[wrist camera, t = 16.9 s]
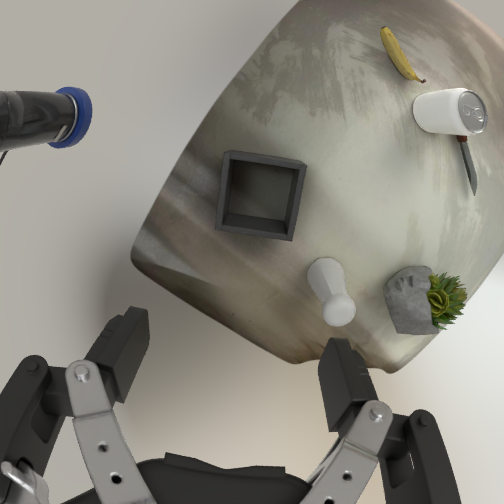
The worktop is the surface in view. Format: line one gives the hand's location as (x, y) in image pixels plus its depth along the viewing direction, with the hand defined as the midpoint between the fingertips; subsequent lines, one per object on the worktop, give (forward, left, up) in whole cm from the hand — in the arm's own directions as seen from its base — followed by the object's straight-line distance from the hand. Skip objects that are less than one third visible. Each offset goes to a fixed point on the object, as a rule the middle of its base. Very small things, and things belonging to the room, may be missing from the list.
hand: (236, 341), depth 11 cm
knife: (+32, +16, -31) cm, 47 cm away
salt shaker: (+12, -10, -31) cm, 35 cm away
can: (+24, +19, -31) cm, 44 cm away
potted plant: (+30, -10, -31) cm, 44 cm away
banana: (+17, +26, -31) cm, 44 cm away
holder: (0, +1, -31) cm, 31 cm away
